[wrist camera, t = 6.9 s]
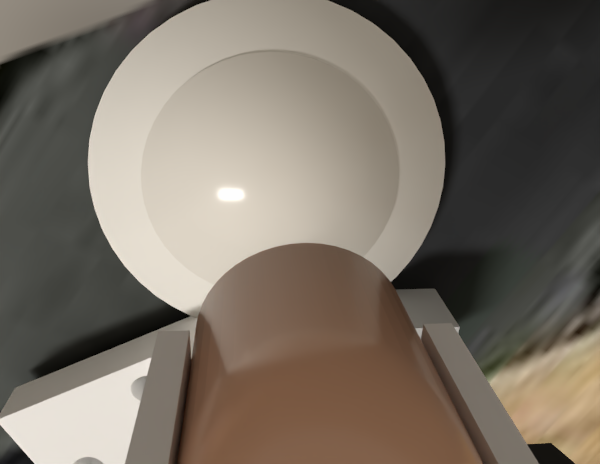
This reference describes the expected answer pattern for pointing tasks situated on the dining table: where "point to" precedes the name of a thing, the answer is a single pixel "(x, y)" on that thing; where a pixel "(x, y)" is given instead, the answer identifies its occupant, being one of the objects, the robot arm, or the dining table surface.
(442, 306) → the grey plastic block
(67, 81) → the dining table surface
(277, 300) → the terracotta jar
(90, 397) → the bracket
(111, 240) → the plate
